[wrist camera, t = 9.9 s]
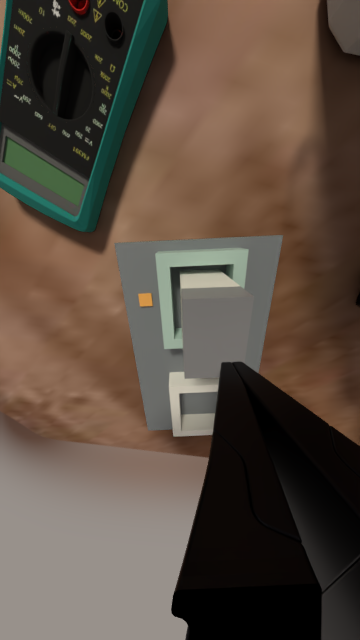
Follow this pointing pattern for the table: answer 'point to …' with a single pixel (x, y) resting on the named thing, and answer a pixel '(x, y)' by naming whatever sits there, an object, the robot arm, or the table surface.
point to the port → (168, 259)
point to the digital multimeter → (70, 98)
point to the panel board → (147, 322)
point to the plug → (213, 322)
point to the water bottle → (345, 24)
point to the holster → (190, 422)
